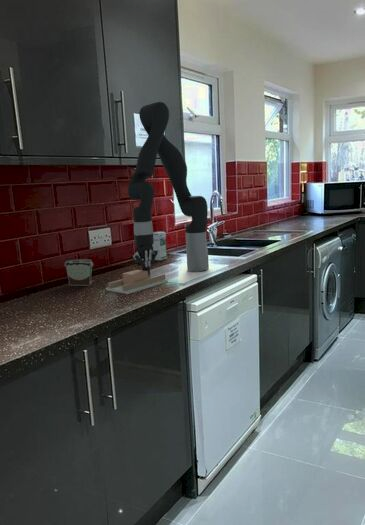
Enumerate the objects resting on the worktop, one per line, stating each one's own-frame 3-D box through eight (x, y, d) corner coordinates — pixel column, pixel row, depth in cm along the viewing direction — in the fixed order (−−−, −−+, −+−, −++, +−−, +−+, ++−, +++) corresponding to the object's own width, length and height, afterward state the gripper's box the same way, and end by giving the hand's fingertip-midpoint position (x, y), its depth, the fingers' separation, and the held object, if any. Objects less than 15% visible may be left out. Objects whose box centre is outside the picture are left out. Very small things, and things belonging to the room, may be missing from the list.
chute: (146, 279, 184) (145, 272, 184) (167, 281, 177) (167, 274, 176) (106, 290, 168) (105, 282, 167) (127, 294, 160) (127, 286, 160)
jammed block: (137, 280, 176) (137, 269, 175) (148, 282, 172) (147, 271, 172) (123, 284, 170) (122, 273, 169) (134, 286, 166) (133, 274, 166)
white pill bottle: (160, 260, 227) (159, 232, 225) (152, 259, 231) (150, 232, 228) (167, 258, 232) (166, 231, 229) (159, 258, 235) (157, 231, 233)
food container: (100, 282, 183) (98, 258, 181) (93, 285, 177) (91, 261, 175) (73, 281, 186) (71, 258, 184) (66, 285, 180) (63, 261, 178)
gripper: (148, 230, 180) (151, 271, 183) (124, 234, 170) (128, 278, 173) (161, 231, 175) (164, 273, 178) (138, 235, 165) (141, 280, 168)
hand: (146, 275), depth 176 cm, fingers closed
